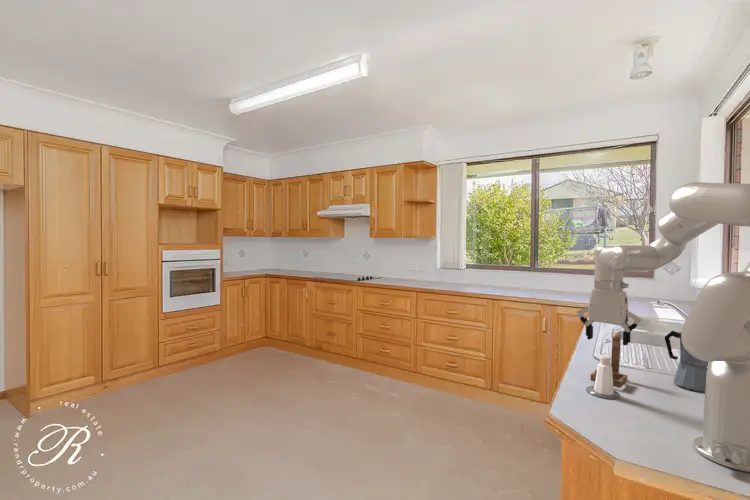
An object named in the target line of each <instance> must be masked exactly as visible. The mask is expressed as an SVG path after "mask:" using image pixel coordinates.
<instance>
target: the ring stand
mask: <svg viewBox="0 0 750 500" xmlns="http://www.w3.org/2000/svg"><path fill="white" fill-rule="evenodd" d="M621 337H622V335H621V334H620V333H619V332H614V333H612V343H611V357H610V358H611V360H610V365H611V366H612V375H613V388H618V389H621V388H622V387H623V386H624V385H625V384H626V383H627V382H628V375H627V374H623V373H620V360H621V340H622V339H621ZM596 374H597V369H596V370H594V371H593V372H592V373H590V381H592V382H595V380H596Z"/></svg>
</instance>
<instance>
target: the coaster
mask: <svg viewBox="0 0 750 500" xmlns="http://www.w3.org/2000/svg"><path fill="white" fill-rule="evenodd" d="M594 386H595V385H589V386H586V388H585V391H586V392H587V393H588V395H591V396H594V397H596V398H600V399H605V400H617V399H620V398H621V396H620V394H621V393H619V392H618V391H616V390H614V394H613V395H602V394H599V393H597V392H595V390H594Z"/></svg>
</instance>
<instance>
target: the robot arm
mask: <svg viewBox="0 0 750 500" xmlns="http://www.w3.org/2000/svg"><path fill="white" fill-rule="evenodd" d="M668 204H669V209H670V211H668V212H667V213H666V214H664V215H663V216H661V217H660V218H659V220H658V222H657V228H658V232H659V233H660V234H661V236H659V238H657V239H656V240H654V241H653V242H651V243H650V244H647V245H643V244H642V245H641V244H639V245H637V244H635V245H634V244H629V245H628V244H625V245H624V244H621V245H599V246H597V247H596V248H595V250H594V277H593V278H594V281H593V282H594V283H593V285H594V286H593V287H594V288H592V290H591V292H590V297H589V303H588V307H585V308H582V309H579V310H577V311H576V313H577V315H578V317H579V320H580V321H581V322H582V323H583V324H584V326H585V336H586V337H587V338H586V339H587V340H592V339H593V338H594V326H593V323H595V322H596V323H603V324H610V325H619V326H620V327H621V328H622V329H623V332H622V346H628V345H629V343H631V332H632V331H633V330H634V329H636V328H637V327H638V326H639V325H640V323H641V322H642V320H643V319H642V317H640V316H639V315H637V314H635V313H633V312H631V311H630V310H629V302H628V295H627V294H628V293H627V291H624V289H628V288H629V286H630V285H629V283H626V282H624V272H653V271H656V270H659V269H660V268H662V267H664V266H666V265H667V264H669V263H671V262H673V261H674V260H676V259H678V258H679V256H681V254H682V253H683V252H684V250H685V249H686V247H687V244H688V243H689V242H691V241H693V240H694V239H696V238H697V237H699V236H701V235H702V234H705V232H708V231H709V230H711V229H712V228H714V227H716V226H717V225H719V224H721V225H728V226H729V225H730V226H736V227H746V228H747V227H749V228H750V183H731V182H729V183H728V182H726V183H725V182H724V183H723V182H703V181H702V182H701V181H693V182H689V183H684V184H683V185H681V186H679V187H678V188H677V189H675V191H673V193H672V195H670V198H669V201H668ZM695 299H696V300H695V301H694V303H693V305H692V307H691V309H690V310H689V313H688V315H687V317H686V319H685V321H684V324H683V326H682V328H681V332H682V333H681V339H682V343H683V346H684V348H685V349H686V351H687V352H688V353H689V354H690V355H692V356H693V357H695V358H697V359H699V360H702V361H707V362H709V363H708V366H707V368H708V369H707V374H706V386H705V392H704V404H703V405H704V406H703V407H704V408H703V420H702V436H697V437H696V438H693V440H692V441H693V442H692V446H693V448H694V449H695V450H696V452H697V453H699V454H700V455H701V456H703V457H705V458H707V460H710V461H712V462H714V463H717V464H719V465H721V466H724V467H727V468H729V469H733V470H738V471H741V472H747V473H750V261H749V262H748V263H747V265H746V267H744V269H743V271H740V272H739V271H737V272H736V271H731V272H725V273H723V272H722V273H720V274H718V275H715V276H713V277H711V279H709V280H708V281H707V282H706V283H705V284H704V285H703V286H702V287H701V289H700V291H699V293H698V295H697V297H696V298H695ZM585 313H588V318H586V317H585V315H584V314H585ZM629 318H630V319H632V320H633V322H632V324H631V325H630V324H629V323H628V322H629V320H630V319H629Z"/></svg>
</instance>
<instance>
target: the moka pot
mask: <svg viewBox="0 0 750 500" xmlns="http://www.w3.org/2000/svg"><path fill="white" fill-rule="evenodd" d="M681 333H682V331H674V330H671V331H670V332H669V333H667V334H666V335H665V336H664V341H665V345H666V347H667V348H666V349H667V353H668V356H669V358H670V359H672V360H678V359H679V363H678V365H677V368H676V372H675V374H674V378H673V383H674V384H675V385H676V386H678V387H681V388H684V389H687V390H690V391H694V392H695V391H696V392H702V393H705V386H706V374H707V369H708V365H709V362H707V361H702V360H699V359H697V358H695V357H693V356H692V355H690V354H689V353H688V352H687V351H686V349H685V348H684V346H683V343H682V339H681ZM671 337H674V338H676V339H679V342H680V343H679V347H680V348H679V353H680V354H679V355H680V356H675V355H674V353H673V351H672V345H671V340H670V338H671ZM679 357H680V358H679Z"/></svg>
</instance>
